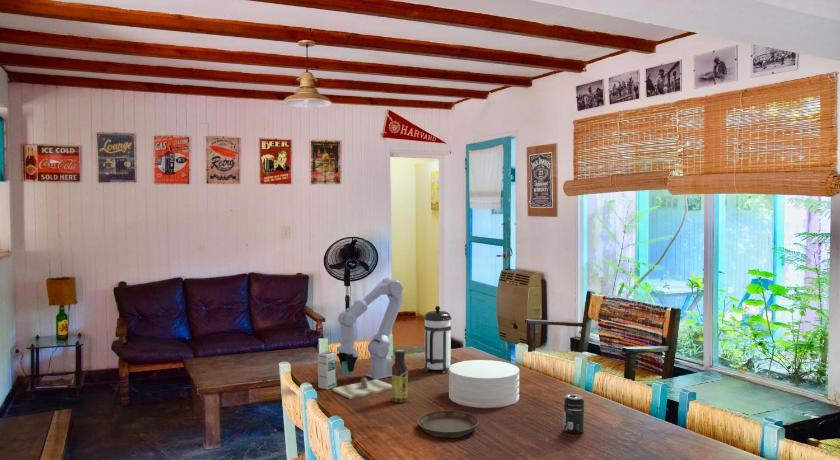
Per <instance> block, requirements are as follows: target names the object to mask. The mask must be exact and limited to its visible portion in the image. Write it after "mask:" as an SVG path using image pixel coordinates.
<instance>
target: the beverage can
mask: <svg viewBox="0 0 840 460" xmlns="http://www.w3.org/2000/svg"><path fill="white" fill-rule="evenodd" d="M563 429H564V430H565V431H566V432H568V433H569V432H570V433H569V434H574V433H577V434H580V432H581V433H582V432H583V431H585V400H584V398H583V395H581V394H579V393H567V394H565V398H563Z"/></svg>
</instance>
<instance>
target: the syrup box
mask: <svg viewBox="0 0 840 460" xmlns="http://www.w3.org/2000/svg"><path fill="white" fill-rule="evenodd" d="M337 358H338V357H337V353H336V352H334V351H329V350H328V351H324V352H320V353H317V382H318V383H317V384H318V385H317V386H318V388H319V389H324V390H330V389H333V388H336V387H338V369H337V367H338V366H337V362H338V361H337Z"/></svg>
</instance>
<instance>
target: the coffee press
mask: <svg viewBox="0 0 840 460" xmlns="http://www.w3.org/2000/svg"><path fill="white" fill-rule="evenodd" d="M434 309H435V310H431V311H427V312H426V313H425V315H424V316H423V320H424V324H423V329H424V368H423V369H422V371H423V372H424V373H427V372H428V371H429V370H434V371H435V370H437V371H439V370H440V371H442V373H443V374H448V369H449V367H450V366H451V365H452V363H451V351H452V348H451V343H452V342H451V341H452V339H451V335H452V333H451V330H452V324H451V321H452V316H451V314H450V313H449V312H447V311H445V310H441V307H440V306H439V305H436V306H435V308H434Z"/></svg>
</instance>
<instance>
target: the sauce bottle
mask: <svg viewBox="0 0 840 460" xmlns="http://www.w3.org/2000/svg"><path fill="white" fill-rule="evenodd" d="M405 354H406V351H405V349H395V350H394V362H393V363H394V364H392V376H391V385H392V390H391V401H392V402H394V403H406V402H408V394H409V393H408V387H409V386H408V384H409V381H408V379H409V378H408V376H409V373H408V372H409V371H408V368H407V364H406V360H405Z"/></svg>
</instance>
